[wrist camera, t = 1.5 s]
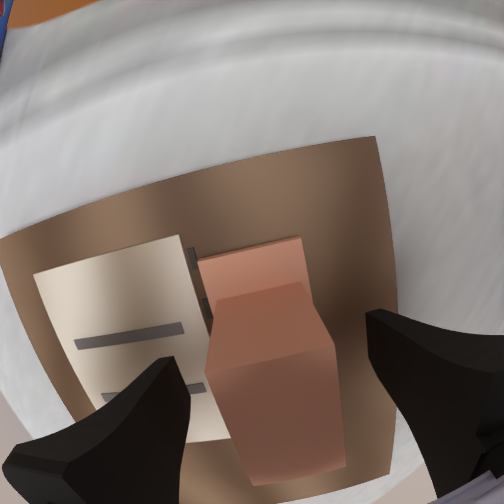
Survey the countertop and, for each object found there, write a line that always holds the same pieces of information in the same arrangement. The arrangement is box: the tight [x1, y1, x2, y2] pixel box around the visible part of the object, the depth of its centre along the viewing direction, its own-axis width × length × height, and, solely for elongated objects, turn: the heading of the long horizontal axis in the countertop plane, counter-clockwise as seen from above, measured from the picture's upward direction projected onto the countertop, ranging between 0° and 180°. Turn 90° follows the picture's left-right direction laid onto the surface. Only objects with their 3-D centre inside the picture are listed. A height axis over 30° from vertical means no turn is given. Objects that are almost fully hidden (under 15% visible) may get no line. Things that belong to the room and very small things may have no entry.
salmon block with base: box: [197, 236, 346, 486], centre depth 10 cm, size 4×8×5 cm, turn 13°
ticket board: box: [0, 136, 398, 504], centre depth 13 cm, size 17×20×2 cm
